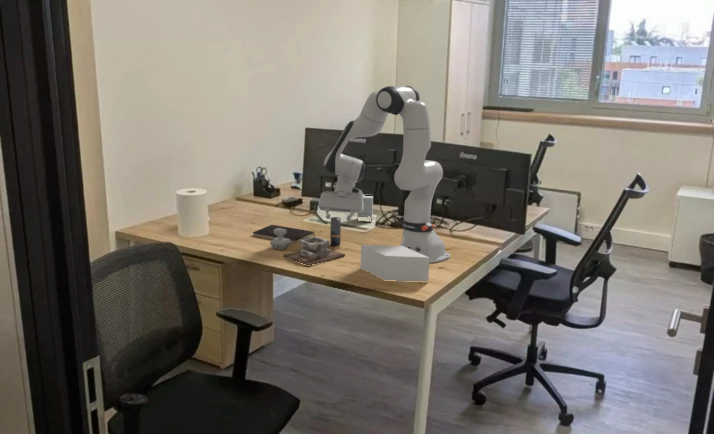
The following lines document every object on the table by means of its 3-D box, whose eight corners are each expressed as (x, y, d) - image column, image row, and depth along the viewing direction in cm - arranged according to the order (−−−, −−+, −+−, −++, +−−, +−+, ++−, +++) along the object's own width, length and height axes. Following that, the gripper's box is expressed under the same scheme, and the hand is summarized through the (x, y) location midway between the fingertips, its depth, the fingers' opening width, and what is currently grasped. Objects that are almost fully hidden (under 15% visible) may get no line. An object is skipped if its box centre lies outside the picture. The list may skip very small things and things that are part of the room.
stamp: (281, 252, 279) (281, 233, 277) (268, 249, 281) (268, 230, 279) (292, 246, 287) (292, 227, 285) (279, 244, 289) (279, 225, 287)
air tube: (342, 245, 290) (343, 218, 287) (335, 247, 287) (335, 220, 284) (335, 242, 293) (335, 216, 290) (327, 244, 290) (328, 218, 287)
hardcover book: (295, 244, 291) (295, 239, 290) (252, 237, 301) (252, 232, 300) (314, 236, 305) (314, 231, 304) (272, 228, 314) (272, 224, 314)
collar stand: (345, 256, 275) (345, 240, 273) (308, 266, 261) (308, 250, 259) (319, 247, 286) (319, 232, 284) (283, 257, 272) (283, 241, 270)
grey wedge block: (420, 289, 241) (421, 262, 238) (351, 274, 254) (351, 249, 252) (435, 277, 253) (437, 252, 250) (369, 264, 267) (370, 239, 264)
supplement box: (372, 219, 334) (373, 194, 331) (371, 222, 327) (372, 198, 323) (358, 218, 335) (358, 194, 331) (356, 222, 327) (357, 197, 324)
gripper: (320, 187, 298) (314, 213, 291) (364, 190, 293) (359, 217, 287) (323, 194, 303) (316, 220, 296) (366, 198, 299) (361, 224, 292)
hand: (338, 219), depth 292 cm, fingers open, 8 cm apart
